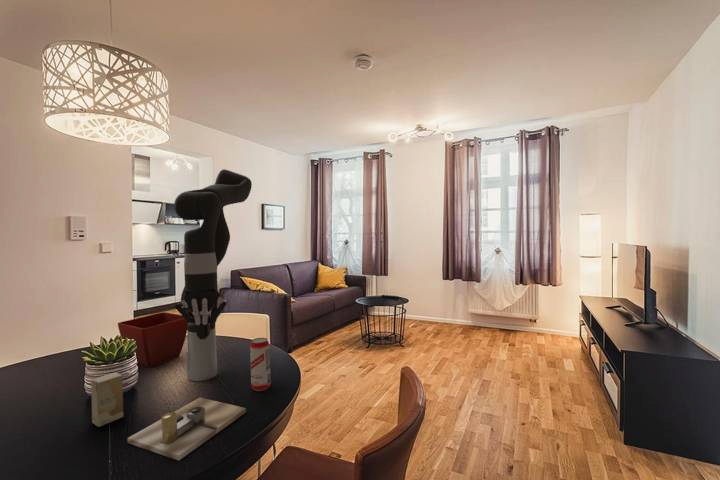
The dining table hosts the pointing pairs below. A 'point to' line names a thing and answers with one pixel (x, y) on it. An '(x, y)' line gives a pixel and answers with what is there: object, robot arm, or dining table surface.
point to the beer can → (260, 364)
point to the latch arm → (180, 423)
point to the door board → (192, 438)
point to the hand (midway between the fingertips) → (203, 338)
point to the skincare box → (107, 399)
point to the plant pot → (156, 337)
